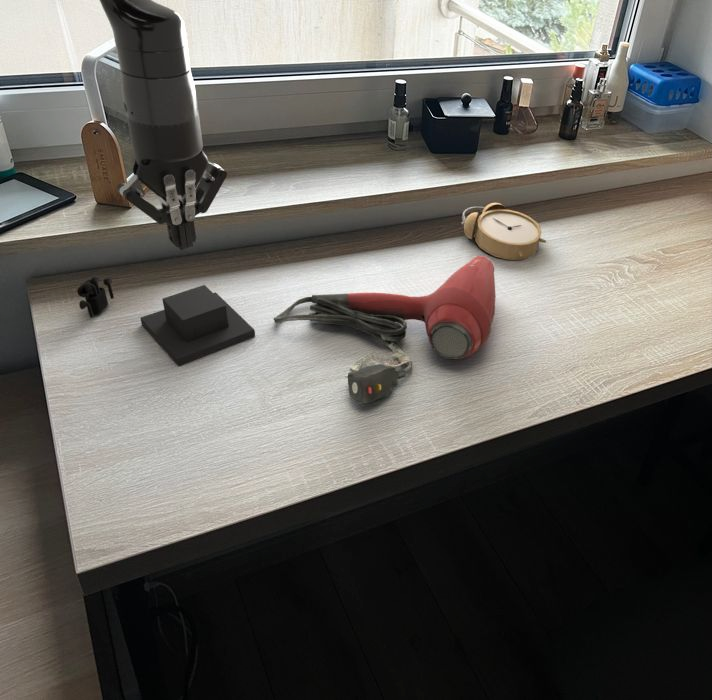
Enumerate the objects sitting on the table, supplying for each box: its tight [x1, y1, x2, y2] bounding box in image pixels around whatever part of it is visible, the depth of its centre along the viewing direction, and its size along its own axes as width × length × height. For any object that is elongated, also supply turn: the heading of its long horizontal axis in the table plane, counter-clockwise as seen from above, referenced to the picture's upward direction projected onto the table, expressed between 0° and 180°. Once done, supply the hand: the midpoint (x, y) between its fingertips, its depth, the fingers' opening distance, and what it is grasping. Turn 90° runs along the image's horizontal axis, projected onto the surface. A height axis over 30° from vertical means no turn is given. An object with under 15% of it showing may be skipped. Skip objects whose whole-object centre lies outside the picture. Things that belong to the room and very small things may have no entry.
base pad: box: [140, 292, 256, 367], centre depth 98 cm, size 11×11×3 cm
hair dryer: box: [272, 255, 497, 404], centre depth 101 cm, size 33×25×9 cm
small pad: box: [162, 284, 229, 342], centre depth 97 cm, size 6×6×4 cm
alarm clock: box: [461, 202, 547, 261], centre depth 125 cm, size 11×5×15 cm
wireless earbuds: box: [77, 276, 115, 319], centre depth 99 cm, size 7×2×5 cm, turn 170°
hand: (184, 245), depth 91 cm, fingers closed
